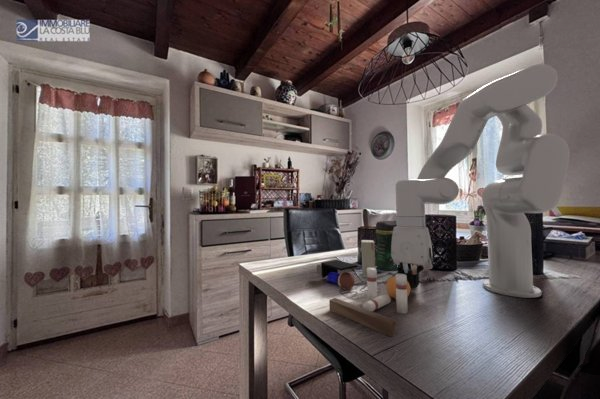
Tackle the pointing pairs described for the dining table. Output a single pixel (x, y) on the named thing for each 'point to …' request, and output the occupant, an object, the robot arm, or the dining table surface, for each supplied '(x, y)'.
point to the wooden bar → (364, 316)
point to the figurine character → (331, 273)
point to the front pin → (376, 302)
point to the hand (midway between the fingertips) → (412, 286)
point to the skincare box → (367, 255)
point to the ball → (394, 287)
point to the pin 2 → (401, 293)
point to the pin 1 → (371, 283)
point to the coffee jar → (385, 245)
